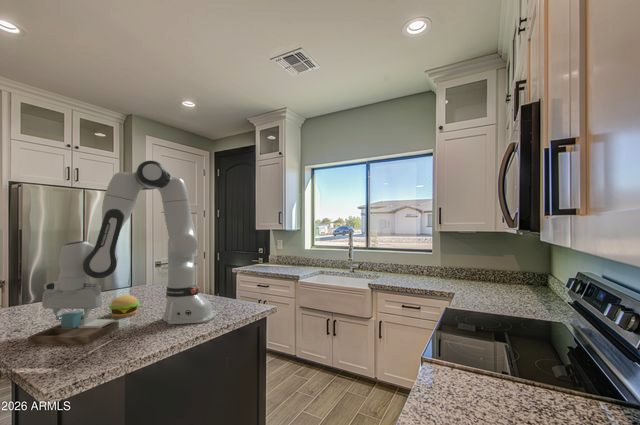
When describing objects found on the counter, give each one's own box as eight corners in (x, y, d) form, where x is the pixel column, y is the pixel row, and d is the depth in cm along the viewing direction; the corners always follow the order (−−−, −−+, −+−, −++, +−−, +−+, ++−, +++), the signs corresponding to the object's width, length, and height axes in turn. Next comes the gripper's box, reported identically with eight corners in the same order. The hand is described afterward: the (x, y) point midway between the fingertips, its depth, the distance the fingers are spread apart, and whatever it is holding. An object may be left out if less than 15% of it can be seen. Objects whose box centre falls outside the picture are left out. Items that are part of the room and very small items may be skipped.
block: (82, 329, 113) (83, 311, 113) (72, 333, 108) (73, 314, 108) (70, 329, 112) (71, 311, 113) (60, 333, 108) (61, 314, 108)
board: (118, 330, 115) (118, 321, 115) (86, 347, 99) (86, 337, 99) (67, 329, 114) (68, 321, 115) (27, 347, 98) (27, 336, 99)
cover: (114, 321, 114) (114, 314, 114) (100, 328, 107) (100, 320, 107) (93, 321, 114) (94, 314, 114) (78, 328, 107) (78, 320, 107)
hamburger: (101, 317, 130) (102, 298, 130) (124, 309, 141) (124, 292, 142) (124, 319, 128) (125, 299, 128) (145, 311, 139) (146, 293, 140)
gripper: (106, 282, 114) (105, 317, 114) (54, 281, 114) (53, 317, 114) (94, 285, 108) (93, 322, 107) (39, 285, 108) (37, 322, 107)
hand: (72, 319), depth 110 cm, fingers open, 8 cm apart
